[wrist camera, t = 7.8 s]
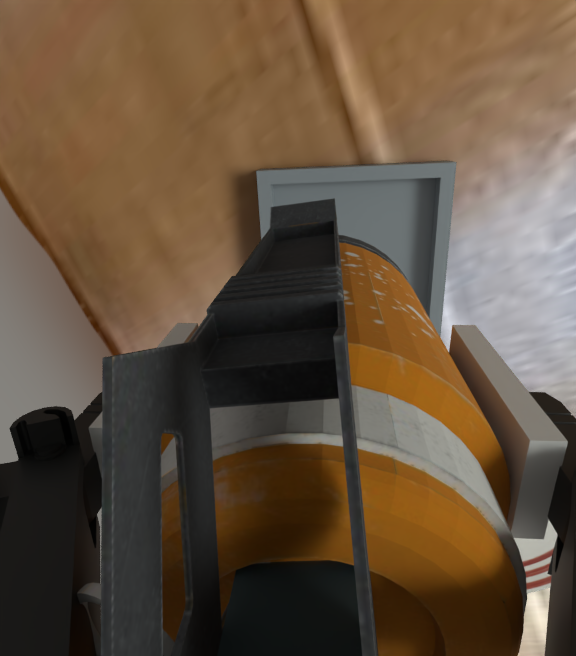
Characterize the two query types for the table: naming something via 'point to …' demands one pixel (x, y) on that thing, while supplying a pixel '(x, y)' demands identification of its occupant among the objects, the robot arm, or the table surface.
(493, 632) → the canister
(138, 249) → the table surface
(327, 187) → the tray
